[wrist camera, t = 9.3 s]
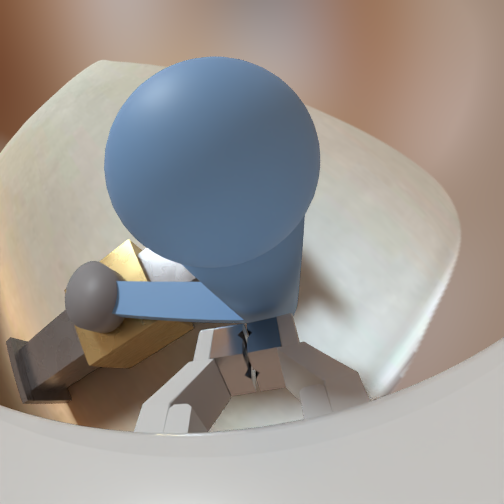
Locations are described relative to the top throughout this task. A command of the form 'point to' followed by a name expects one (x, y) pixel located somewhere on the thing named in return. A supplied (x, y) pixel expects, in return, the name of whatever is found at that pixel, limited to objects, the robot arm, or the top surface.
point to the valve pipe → (95, 335)
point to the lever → (206, 197)
